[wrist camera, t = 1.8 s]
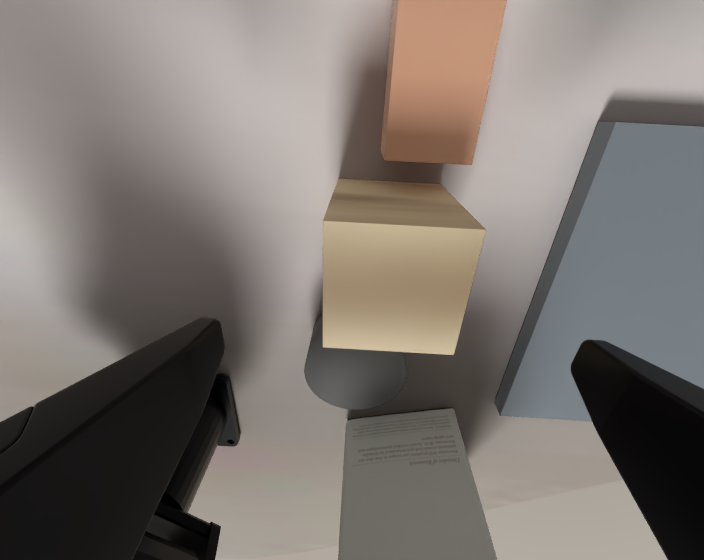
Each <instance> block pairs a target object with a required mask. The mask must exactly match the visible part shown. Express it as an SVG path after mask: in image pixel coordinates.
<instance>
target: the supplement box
mask: <svg viewBox="0 0 704 560" xmlns="http://www.w3.org/2000/svg"><path fill="white" fill-rule="evenodd" d="M338 556H339V557H338V560H497V557H496V554H495V550H494V547H493V543H492V540H491V536H490V533H489V529H488V526H487V523H486V519H485V515H484V512H483V509H482V505H481V501H480V498H479V494H478V491H477V488H476V484H475V481H474V477H473V474H472V471H471V467H470V464H469V460H468V457H467V453H466V450H465V446H464V442H463V439H462V435H461V432H460V429H459V425H458V422H457V418H456V414H455V410H454V409H452V408H451V409H440V410H430V411H421V412H411V413H403V414H392V415H384V416H375V417H367V418H358V419H352V420H348V421H347V423H346V433H345V448H344V466H343V484H342V501H341V518H340V536H339V555H338Z"/></svg>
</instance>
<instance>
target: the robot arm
mask: <svg viewBox="0 0 704 560" xmlns="http://www.w3.org/2000/svg"><path fill="white" fill-rule="evenodd" d="M224 348H225V347H224V339H223V334H222V328H221V323H220V321H219V320H218V319H217V318H205V317H203V318H199V319H197V320H195V321H193V322H192V323H190V324H188V325H186V326H184V327H182V328H180V329H178V330H176V331H174V332H172V333H170V334H169V335H167V336H165V337H163V338H161V339H159V340H157V341H155V342H153V343H151V344H149V345H147V346H146V347H144V348H142V349H140V350H138V351H136V352H134V353H132V354H130V355H128V356H126V357H124V358H123V359H121V360H119V361H117V362H115V363H113V364H111V365H109V366H107V367H105V368H103V369H101V370H100V371H98V372H96V373H94V374H92V375H90V376H88V377H86V378H84V379H82V380H80V381H78V382H77V383H75V384H73V385H71V386H69V387H67V388H65V389H63V390H61V391H59V392H57V393H55V394H54V395H52V396H50V397H48V398H46V399H44V400H42V401H40V402H38V403H37V404H36V405H35V406H34V407H32V406H31V407H28V408H27V409H25V410H23V411H21V412H19V413H17V414H15V415H13V416H11V417H9V418H8V419H6V420H4V421H2V422H0V560H215V556H216V551H217V545H218V540H219V534H220V529H221V526H219V525H217V524H215V523H213V522H211V523H208V522H206V521H203V520H201V519H199V518H197V517H195V516H193V515H191V514H189V513H188V511H189V508H190V506H191V504H192V501H193V499H194V497H195V495H196V492H197V490H198V488H199V486H200V483H201V481H202V479H203V476H204V474H205V472H206V470H207V467H208V465H209V463H210V460H211V458H212V456H213V454H214V451H215V449H216V447H217V446H236V445H237V444H238V442H239V439H240V435H239V430H238V424H237V419H236V414H235V409H234V403H233V398H232V393H231V388H230V382H229V379H228V377H226V376H225V375H223V374H217V371H218V368H219V365H220V362H221V360H222V357H223V354H224ZM571 374H572V377H573V379H574V381H575V383H576V386H577V388H578V390H579V392H580V395H581V397H582V399H583V402H584V404H585V406H586V408H587V411H588V413H589V415H590V417H591V420H592V422H593V424H594V426H595V428H596V431H597V433H598V435H599V437H600V438H601V440H602V442H603V444H604V446H605V448H606V449H607V451H608V453H609V455H610V457H611V458H612V460H613V462H614V464H615V466H616V467H617V469H618V471H619V473H620V475H621V476H622V478H623V480H624V482H625V483H626V485H627V487H628V489H629V491H630V492H631V494H632V496H633V498H634V500H635V501H636V503H637V505H638V507H639V509H640V510H641V512H642V514H643V516H644V518H645V519H646V521H647V523H648V525H649V526H650V528H651V530H652V532H653V534H654V535H655V537H656V539H657V541H658V543H659V545H660V546H661V548H662V550H663V552H664V553H665V555H666V557H667V559H668V560H704V389H703V388H701V387H699V386H697V385H695V384H693V383H691V382H689V381H687V380H685V379H682V378H680V377H678V376H676V375H674V374H672V373H670V372H668V371H666V370H664V369H662V368H660V367H658V366H656V365H654V364H652V363H650V362H648V361H646V360H644V359H642V358H640V357H637V356H635V355H633V354H631V353H629V352H627V351H625V350H623V349H621V348H619V347H617V346H615V345H613V344H611V343H609V342H607V341H604V340H591V339H587V340H585V341H583V342H582V343H581V345H580V347H579V349H578V351H577V353H576V355H575V357H574V359H573V361H572V363H571ZM220 382H221V383H220Z"/></svg>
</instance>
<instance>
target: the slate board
mask: <svg viewBox="0 0 704 560" xmlns="http://www.w3.org/2000/svg"><path fill="white" fill-rule="evenodd" d="M587 339H591V340H604V341H607V342H609V343H611V344H613V345H615V346H617V347H619V348H621V349H623V350H625V351H627V352H629V353H631V354H633V355H635V356H637V357H640V358H642V359H644V360H646V361H648V362H650V363H652V364H654V365H656V366H658V367H660V368H662V369H664V370H666V371H668V372H670V373H672V374H674V375H676V376H678V377H680V378H682V379H685V380H687V381H689V382H691V383H693V384H695V385H697V386H699V387H701V388H703V389H704V127H702V126H683V125H664V124H644V123H625V122H605V121H598V124H597V127H596V129H595V132H594V135H593V138H592V140H591V143H590V146H589V148H588V151H587V154H586V156H585V159H584V162H583V165H582V167H581V170H580V173H579V175H578V178H577V181H576V183H575V186H574V189H573V191H572V194H571V197H570V200H569V202H568V205H567V208H566V210H565V213H564V216H563V218H562V221H561V224H560V227H559V229H558V232H557V235H556V237H555V240H554V243H553V245H552V248H551V251H550V253H549V256H548V259H547V262H546V264H545V267H544V270H543V272H542V275H541V278H540V280H539V283H538V286H537V289H536V291H535V294H534V297H533V299H532V302H531V305H530V307H529V310H528V313H527V315H526V318H525V321H524V324H523V326H522V329H521V332H520V334H519V337H518V340H517V342H516V345H515V348H514V350H513V353H512V356H511V359H510V361H509V364H508V367H507V369H506V372H505V375H504V377H503V380H502V383H501V386H500V388H499V391H498V394H497V396H496V399H495V402H494V403H495V405H496V407H497V410H498V412H499V414H500V416H513V417H530V418H546V419H563V420H579V421H592V420H591V417H590V415H589V413H588V411H587V408H586V406H585V404H584V402H583V399H582V397H581V395H580V392H579V390H578V388H577V386H576V383H575V381H574V379H573V377H572V374H571V363H572V361H573V359H574V357H575V355H576V353H577V351H578V349H579V347H580V345H581V343H582V342H583V341H585V340H587Z"/></svg>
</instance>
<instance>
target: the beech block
mask: <svg viewBox="0 0 704 560" xmlns="http://www.w3.org/2000/svg"><path fill="white" fill-rule="evenodd" d="M485 232H486V229H485V228H484V227H483V226H482V225H481V224H480V223H479V222H478V221H477V220H476V219H475V218H474V217H473V216H472V215H471V214H470V213H469V212H468V211H467V210H466V209H465V208H464V207H463V206H462V205H461V204H460V203H459V202H458V201H457V200H456V199H455V198H454V197H453V196H452V195H451V194H450V193H449V192H448V191H447V190H446V189H445V188H444V187H443V186H442V185H441V184H430V183H411V182H393V181H374V180H356V179H338V181H337V184H336V187H335V189H334V192H333V195H332V198H331V200H330V203H329V206H328V209H327V211H326V214H325V217H324V220H323V347H325V348H342V349H360V350H377V351H394V352H411V353H428V354H445V355H454V352H455V348H456V344H457V341H458V337H459V333H460V329H461V325H462V321H463V317H464V314H465V310H466V306H467V302H468V298H469V294H470V290H471V286H472V283H473V279H474V275H475V271H476V267H477V263H478V259H479V256H480V252H481V248H482V244H483V240H484V236H485Z"/></svg>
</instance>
